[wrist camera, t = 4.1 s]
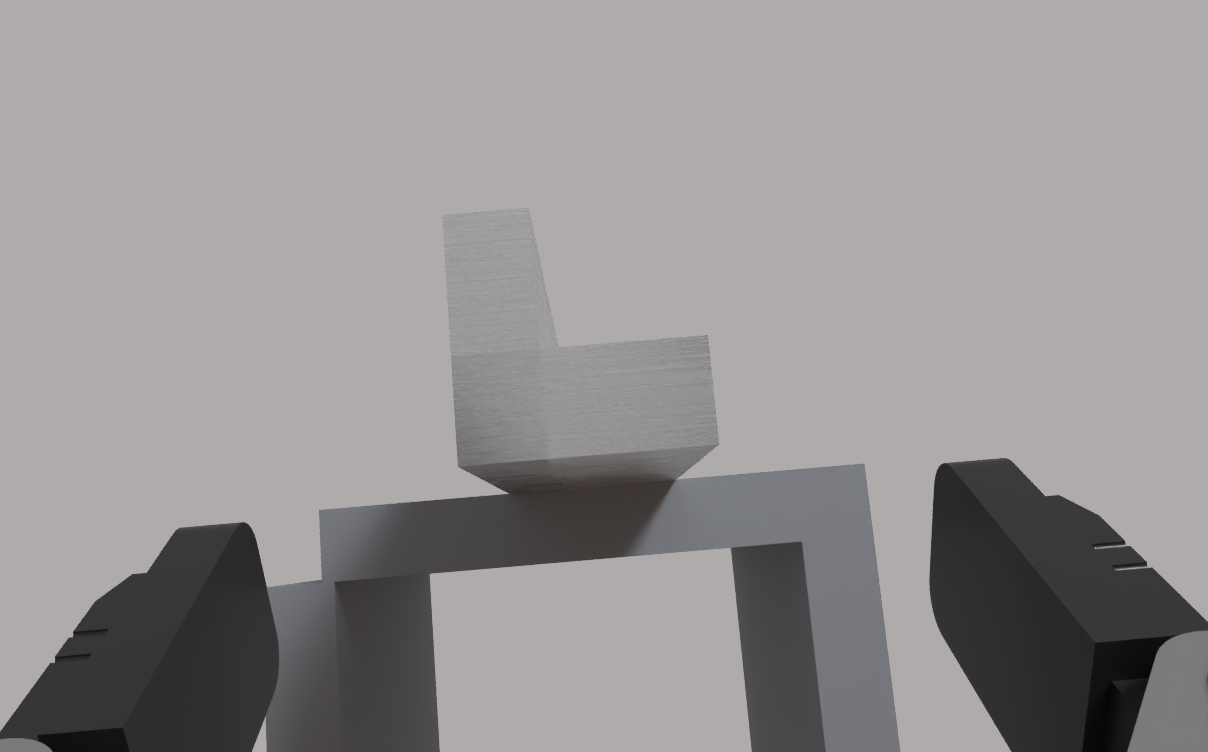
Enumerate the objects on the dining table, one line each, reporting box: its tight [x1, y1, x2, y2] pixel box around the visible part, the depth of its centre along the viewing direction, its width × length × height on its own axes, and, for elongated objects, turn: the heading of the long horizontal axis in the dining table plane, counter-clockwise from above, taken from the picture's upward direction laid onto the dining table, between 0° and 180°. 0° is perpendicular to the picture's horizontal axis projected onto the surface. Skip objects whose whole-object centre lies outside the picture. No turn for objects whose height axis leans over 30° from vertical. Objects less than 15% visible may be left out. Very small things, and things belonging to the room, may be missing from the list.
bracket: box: [442, 208, 719, 494], centre depth 24 cm, size 4×20×4 cm, turn 0°
